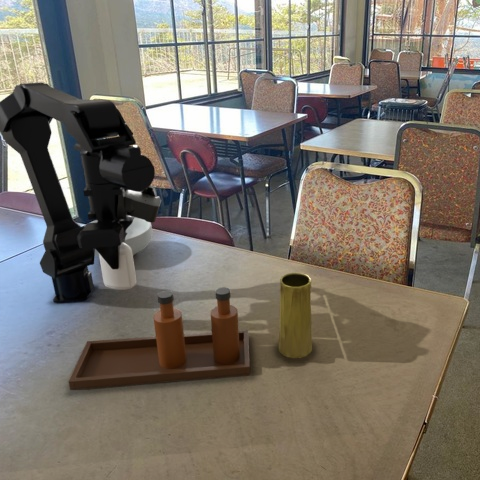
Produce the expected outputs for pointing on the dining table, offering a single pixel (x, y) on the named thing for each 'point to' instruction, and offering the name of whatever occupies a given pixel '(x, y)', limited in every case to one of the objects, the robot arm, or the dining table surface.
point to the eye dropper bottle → (120, 270)
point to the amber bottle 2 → (225, 328)
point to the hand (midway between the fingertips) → (117, 263)
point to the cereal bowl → (136, 235)
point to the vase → (295, 315)
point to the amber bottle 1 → (169, 332)
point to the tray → (152, 362)
